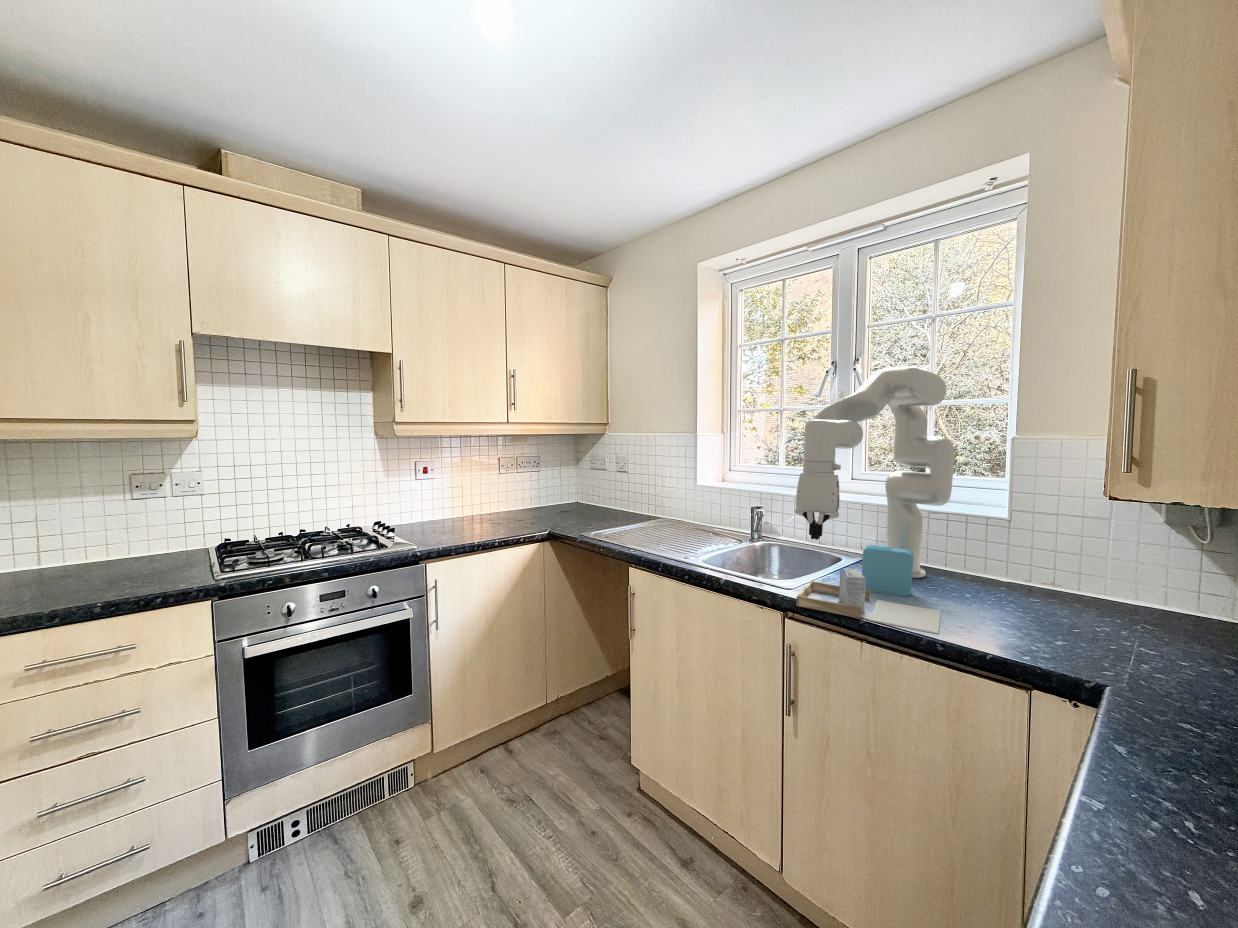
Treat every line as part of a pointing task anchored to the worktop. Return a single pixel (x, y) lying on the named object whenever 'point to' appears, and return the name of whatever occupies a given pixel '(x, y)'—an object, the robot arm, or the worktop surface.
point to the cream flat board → (906, 616)
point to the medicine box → (852, 588)
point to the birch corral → (827, 605)
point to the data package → (888, 570)
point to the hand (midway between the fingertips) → (815, 538)
